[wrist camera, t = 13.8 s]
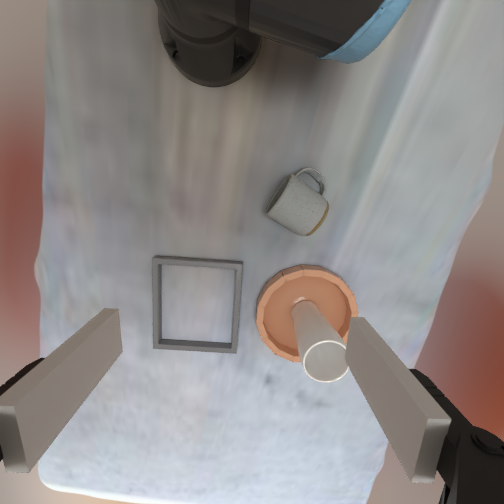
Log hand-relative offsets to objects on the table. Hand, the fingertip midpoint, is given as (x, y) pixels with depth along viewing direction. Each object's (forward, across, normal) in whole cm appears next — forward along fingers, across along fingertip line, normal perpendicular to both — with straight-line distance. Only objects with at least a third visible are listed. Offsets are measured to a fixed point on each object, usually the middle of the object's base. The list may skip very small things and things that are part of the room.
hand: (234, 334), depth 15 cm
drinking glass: (+32, +12, -15) cm, 38 cm away
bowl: (+33, +12, -15) cm, 38 cm away
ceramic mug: (+34, +9, +6) cm, 35 cm away
